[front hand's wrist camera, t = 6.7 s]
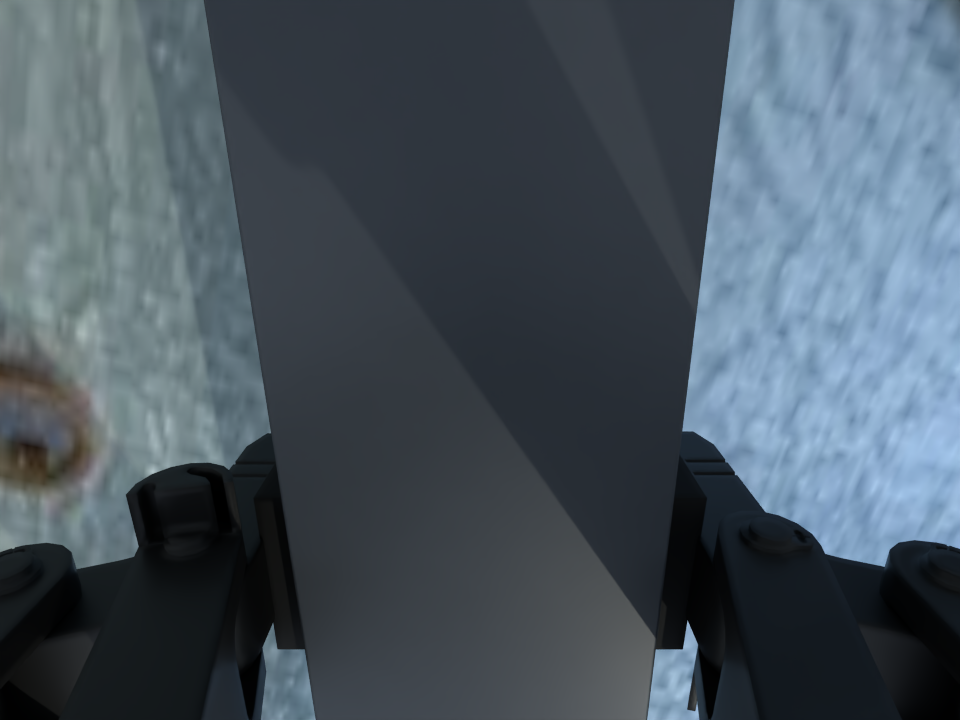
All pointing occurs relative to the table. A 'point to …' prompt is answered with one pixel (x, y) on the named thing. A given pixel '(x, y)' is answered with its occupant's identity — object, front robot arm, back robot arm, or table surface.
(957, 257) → the table surface
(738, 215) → the table surface
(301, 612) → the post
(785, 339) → the table surface
